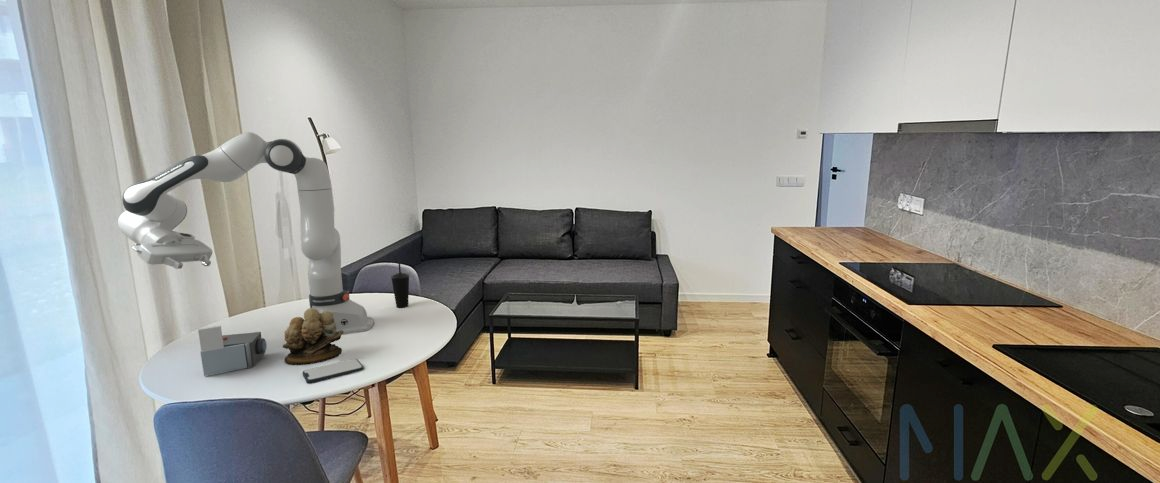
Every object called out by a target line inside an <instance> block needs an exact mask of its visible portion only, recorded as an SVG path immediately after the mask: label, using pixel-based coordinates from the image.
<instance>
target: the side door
mask: <svg viewBox="0 0 1160 483" xmlns="http://www.w3.org/2000/svg"><path fill="white" fill-rule="evenodd" d="M197 332H198V338H199V345H200V350H201V351H200V352H199V353H200V358H201V359H200V360H201V364H202V372H203V376H204V377H205V376H212V375H216V374H222V373H226V372H231V371H237V370H243V369H247V368H248V369H253V368H254V366H252V359H251V352H250V344H249V343H245V347H244V344H240V345H234V346H228V347H224V344H223V337H222V335H223V331H222V325H221V324H220V325H214V326H208V327H207V326H206V327H201V328H198V330H197ZM245 349H246V354H245ZM246 356H247V361H246ZM247 364H248V367H247Z"/></svg>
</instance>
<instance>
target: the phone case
mask: <svg viewBox="0 0 1160 483" xmlns="http://www.w3.org/2000/svg"><path fill="white" fill-rule="evenodd" d="M362 371H364V365H363V364H362V362H360V360H359V359H357V358H353V359H348V360H343V361H339V362H335V363H331V364H327V365H326V364H324V365H320V366H316V367H312V368H308V369H304V370H303V371H302V376H303V379H304V380H305V382H306V384H309V385H312V384H316V383H319V382H324V381H327V380H331V379H335V378H339V377H342V376H347V375H351V374H355V373H357V372H358V373H359V372H362Z"/></svg>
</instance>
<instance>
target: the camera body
mask: <svg viewBox="0 0 1160 483" xmlns="http://www.w3.org/2000/svg"><path fill="white" fill-rule="evenodd" d="M222 337H223V344H224V347H228V346H234V345H240V344H244V347H245V343H249V344H250V352H251V359H252V366H253V367H256V366H257V364H258V363H259V362H260V360H261V359H262V357H263V356H264V355H265V354H266V351H267V340H266V339H265V338H264V337H263V336H262V332H261V331H255V332H245V333H236V334H235V333H233V334H222ZM262 337H263V338H262ZM245 354H246V349H245ZM246 361H247V356H246ZM247 368H248V364H247Z"/></svg>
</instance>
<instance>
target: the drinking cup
mask: <svg viewBox="0 0 1160 483" xmlns="http://www.w3.org/2000/svg"><path fill="white" fill-rule="evenodd" d="M397 265H398V272H396V273H393V274H392V275H390V278H391V283H392V289H393V295H394V301H395V305H396V308H398V309H403V308H404V309H405V308H407V307H409V292H410V291H409V290H410V277H411V276H410V274H409V273H407V272H404V271H403V272H402V271H401V261H400V260H398V264H397Z"/></svg>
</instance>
